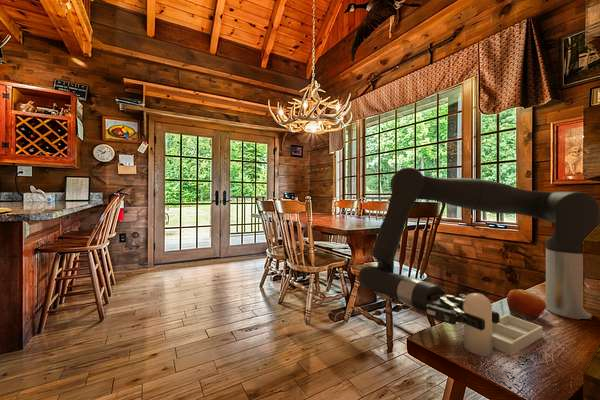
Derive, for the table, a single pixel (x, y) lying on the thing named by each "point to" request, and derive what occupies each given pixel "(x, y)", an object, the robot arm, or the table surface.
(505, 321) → the tray
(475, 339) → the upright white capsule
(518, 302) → the fruit
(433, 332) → the table surface
